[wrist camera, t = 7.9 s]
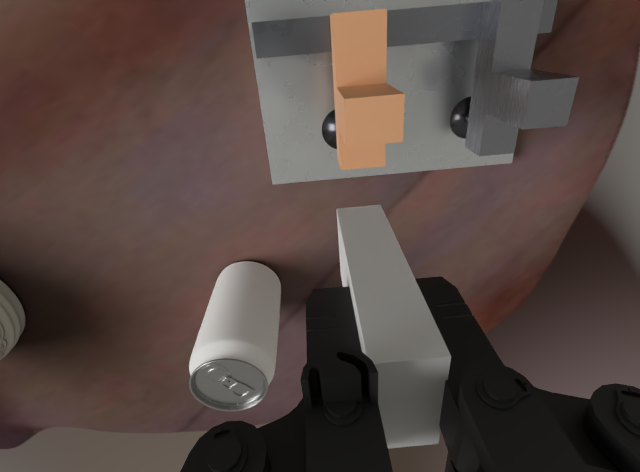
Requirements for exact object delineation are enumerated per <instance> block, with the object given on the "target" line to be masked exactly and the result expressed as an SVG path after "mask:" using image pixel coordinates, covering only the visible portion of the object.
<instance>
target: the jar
mask: <svg viewBox="0 0 640 472" xmlns="http://www.w3.org/2000/svg"><path fill="white" fill-rule="evenodd" d="M24 327H25V313H24V310H23V307H22V305H21V303H20V301H19V300H18V298H17V297H16V295H15V294H14V293H13V292H12V290H11V289H10V288H9V287H8V286H7V285H6V284H5V283H3V282H2V281H1V280H0V360H1V359H2V358H4V357H5V356H6V355H7V354H8V353H9V352H10V350H11V349H12V348H13V347H14V346H15V345H16V343H17V341H18V339H19V337H20V335H21V334H22V332H23V330H24Z"/></svg>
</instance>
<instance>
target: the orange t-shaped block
mask: <svg viewBox="0 0 640 472" xmlns="http://www.w3.org/2000/svg"><path fill="white" fill-rule="evenodd" d="M330 29H331V48H332V66H333V85H334V103H335V121H336V140H337V158H338V163H339V166H340V169H341V170H349V169H360V168H372V167H383V166H385V144H386V143H397V142H403V126H404V100H405V94H404V93H403V92H401V91H399V90H397V89H396V88H394V87H392V86H390V85H389V84H387V83H386V63H387V9H376V10H364V11H353V12H342V13H333V14H331V15H330Z"/></svg>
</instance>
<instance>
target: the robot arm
mask: <svg viewBox="0 0 640 472" xmlns="http://www.w3.org/2000/svg"><path fill="white" fill-rule="evenodd" d="M337 223H338V239H339V255H340V272H341V279H342V285H343V287H336V288H325V289H314V290H313V291H312V293H311V294H310V296H309V298H308V300H307V302H306V330H307V364H306V365H305V366H304V368H303V372H302V376H301V386H302V392H303V399H302V400H301V401H300V403H299V404H298V406H297V407H296V408H295V409H293V410H292V411H291V412H290V413H289V414H287V415H285V416H284V417H282V418H280V419H278V420H276V421H274V422H271V423H269V424H267V425H264V426H262V427H260V428H256V427H255V426H254V425H252V424H249V423H246V422H243V421H228V422H225V423H222V424H220V425H218V426H215V427H213V428H212V429H210V430H209V431H208V432H207V433H205V434H204V435H203V436H202V437H201V438H199V440H198V441H197V443H196V444H195V446H194V447H193V449H192V450H191V452H190V453H189V455H188V457H187V459H186V461H185V463H184V465H183V467H182V470H181V471H180V472H393V471H392V466H391V461H390V457H389V452H388V448H398V447H408V446H419V445H430V444H438V442H439V435H440V429H441V432H442V435H443V438H444V440H445V443H446V446H447V449H448V455H447V461H446V467H445V472H640V389H638V388H635V387H633V386H627V385H621V384H609V385H602V386H601V387H600V388H598V389H597V390H595V391H594V392H593V394H592V396H591V399H585V398H579V397H574V396H568V395H563V394H557V393H552V392H548V391H545V390H541V389H538V388H536V387H534V386H533V385H532V384H531V383H530V382H529V381H528V380H527V379H526V377H524V376H523V375H521V374H520V373H518V372H516V371H515V370H513V369H511V368H509V367H506V366H504V364H503V363H502V362H501V360H500V359H499V357H498V355H497V353H496V352H495V350H494V349H493V347H492V345H491V344H490V342H489V340H488V339H487V337H486V335H485V334H484V332H483V331H482V329H481V327H480V326H479V324H478V322H477V321H476V319H475V318H474V316H472V313H471V311H470V309H469V308H468V306H467V304H465V301H464V300H463V298H462V296H461V295H460V293H459V291H458V290H457V288H456V287H455V286H453V285H452V284H451V283H449V282H448V281H447V280H445V279H444V278H443V277H431V278H420V279H415V278H414V276H413V273H412V271H411V269H410V267H409V265H408V263H407V261H406V258H405V256H404V254H403V252H402V250H401V248H400V246H399V243H398V241H397V239H396V237H395V235H394V233H393V230H392V228H391V226H390V224H389V222H388V220H387V218H386V215H385V213H384V211H383V209H382V207H381V205H371V206H361V207H350V208H339V209H337Z"/></svg>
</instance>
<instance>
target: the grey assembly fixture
mask: <svg viewBox="0 0 640 472" xmlns="http://www.w3.org/2000/svg"><path fill="white" fill-rule="evenodd" d="M557 2H558V0H245V6H246V12H247V19H248V25H249V32H250V39H251V45H252V52H253V58H254V65H255V72H256V78H257V85H258V91H259V98H260V104H261V111H262V118H263V124H264V131H265V137H266V144H267V151H268V157H269V164H270V170H271V177H272V183H273V184H283V183H294V182H305V181H317V180H328V179H339V178H350V177H361V176H372V175H383V174H395V173H406V172H417V171H428V170H439V169H450V168H461V167H472V166H484V165H495V164H506V163H512V160H513V155H514V151H515V146H516V141H517V136H518V131H519V129H522V130H525V129H536V128H547V127H558V126H567V123H568V119H569V115H570V111H571V107H572V104H573V100H574V96H575V92H576V88H577V84H578V80H579V77H576V76H569V75H563V74H556V73H550V72H543V71H537V70H530V69H531V64H532V59H533V54H534V49H535V43H536V38H537V34H540V33H551V31H552V26H553V21H554V16H555V12H556V7H557ZM376 9H387V63H386V83H387V84H389V85H390V86H392V87H394V88H396V89H397V90H399V91H401V92H403V93H404V94H405V100H404V126H403V142H397V143H386V144H385V166H383V167H372V168H360V169H349V170H341V169H340V166H339V163H338V158H337V140H336V121H335V103H334V85H333V66H332V48H331V29H330V15H331V14H333V13H342V12H353V11H364V10H376Z"/></svg>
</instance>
